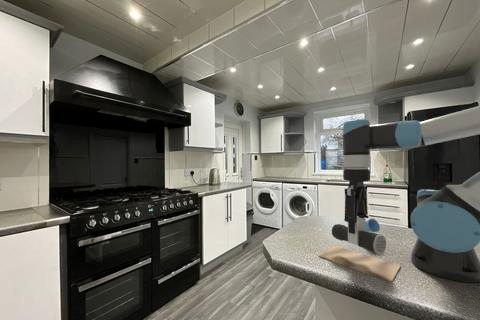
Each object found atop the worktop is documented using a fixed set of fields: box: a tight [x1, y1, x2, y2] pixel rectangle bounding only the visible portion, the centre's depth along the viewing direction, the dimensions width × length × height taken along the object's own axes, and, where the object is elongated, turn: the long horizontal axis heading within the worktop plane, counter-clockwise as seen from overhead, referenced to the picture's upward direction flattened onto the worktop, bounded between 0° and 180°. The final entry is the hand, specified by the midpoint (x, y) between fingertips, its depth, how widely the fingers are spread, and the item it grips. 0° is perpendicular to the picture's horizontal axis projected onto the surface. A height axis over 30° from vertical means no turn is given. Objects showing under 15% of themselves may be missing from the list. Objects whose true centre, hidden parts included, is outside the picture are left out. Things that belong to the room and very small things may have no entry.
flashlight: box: [331, 223, 387, 255], centre depth 65 cm, size 15×5×5 cm, turn 26°
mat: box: [318, 245, 402, 283], centre depth 65 cm, size 20×12×1 cm, turn 42°
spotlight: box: [366, 218, 381, 233], centre depth 79 cm, size 5×10×7 cm
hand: (357, 240), depth 65 cm, fingers closed on flashlight, 6 cm apart
